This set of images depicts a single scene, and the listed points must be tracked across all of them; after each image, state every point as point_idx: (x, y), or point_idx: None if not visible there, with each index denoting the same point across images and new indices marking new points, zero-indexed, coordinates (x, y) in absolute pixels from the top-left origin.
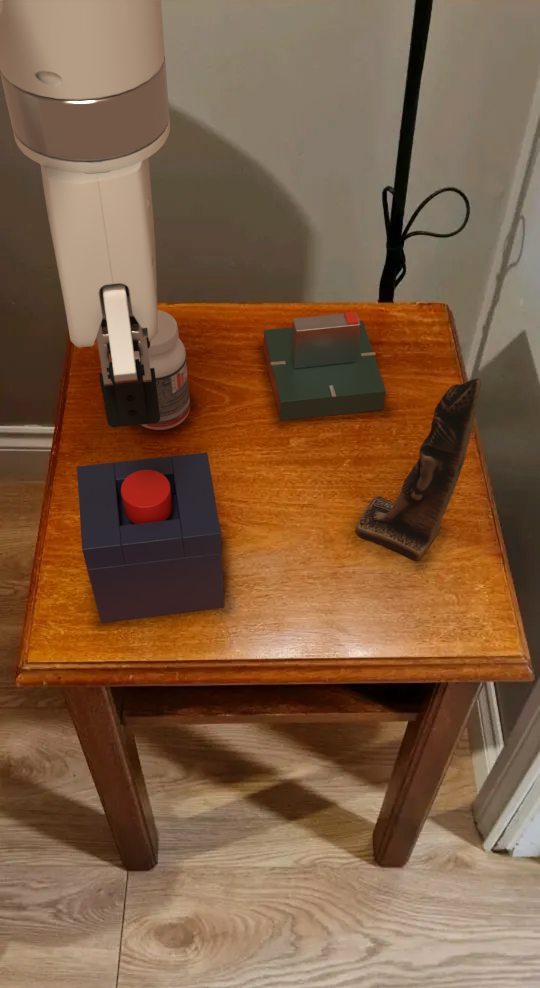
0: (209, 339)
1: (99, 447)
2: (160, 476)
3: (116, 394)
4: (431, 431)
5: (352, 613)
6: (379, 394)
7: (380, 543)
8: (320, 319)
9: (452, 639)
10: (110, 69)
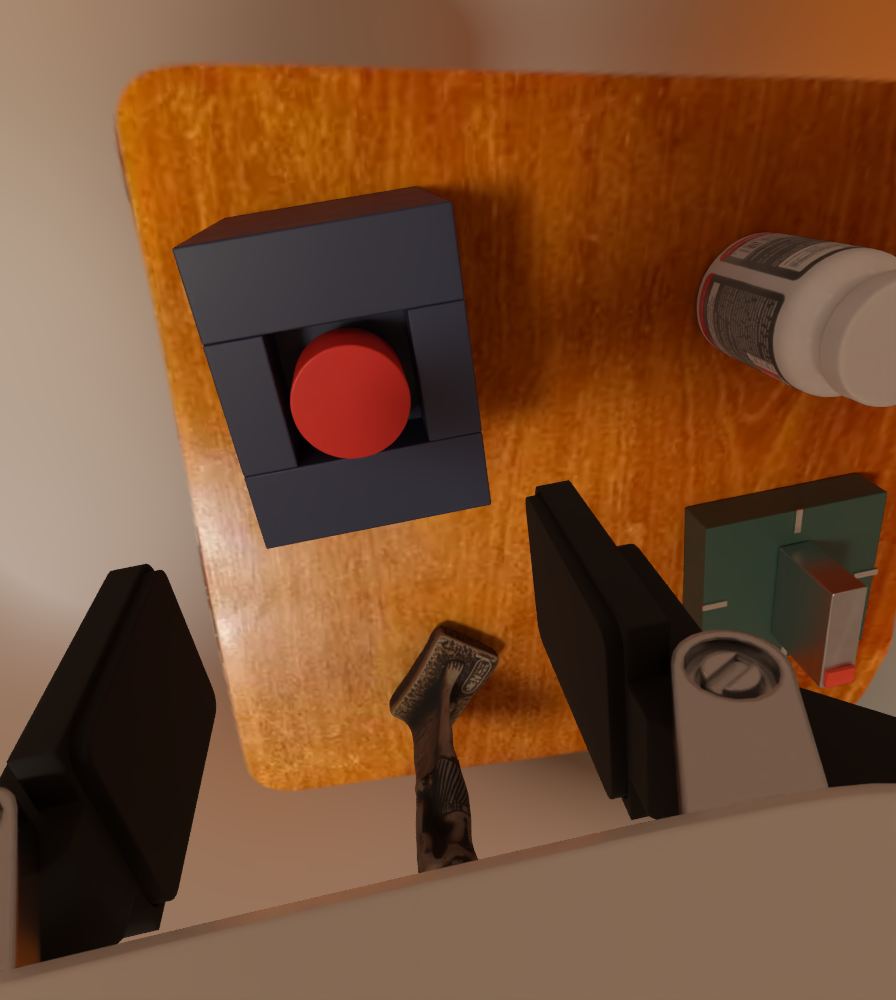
0: None
1: (673, 169)
2: (390, 434)
3: (2, 780)
4: None
5: (295, 621)
6: None
7: (418, 658)
8: (850, 630)
9: (265, 733)
10: None
